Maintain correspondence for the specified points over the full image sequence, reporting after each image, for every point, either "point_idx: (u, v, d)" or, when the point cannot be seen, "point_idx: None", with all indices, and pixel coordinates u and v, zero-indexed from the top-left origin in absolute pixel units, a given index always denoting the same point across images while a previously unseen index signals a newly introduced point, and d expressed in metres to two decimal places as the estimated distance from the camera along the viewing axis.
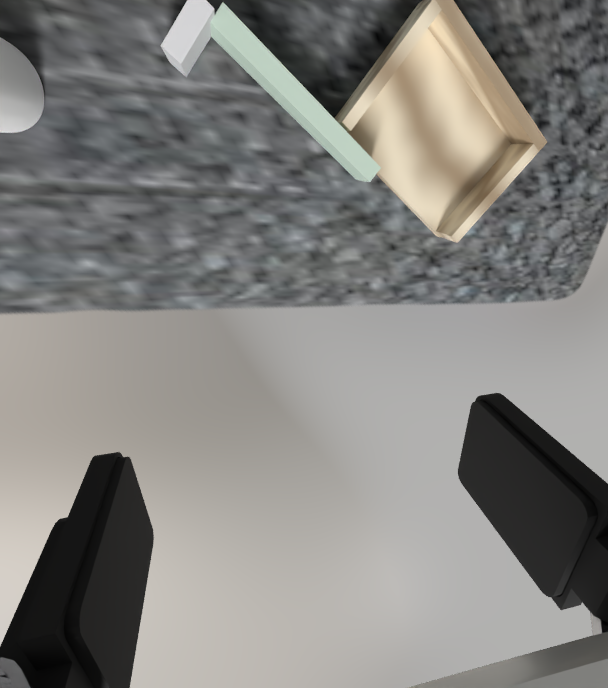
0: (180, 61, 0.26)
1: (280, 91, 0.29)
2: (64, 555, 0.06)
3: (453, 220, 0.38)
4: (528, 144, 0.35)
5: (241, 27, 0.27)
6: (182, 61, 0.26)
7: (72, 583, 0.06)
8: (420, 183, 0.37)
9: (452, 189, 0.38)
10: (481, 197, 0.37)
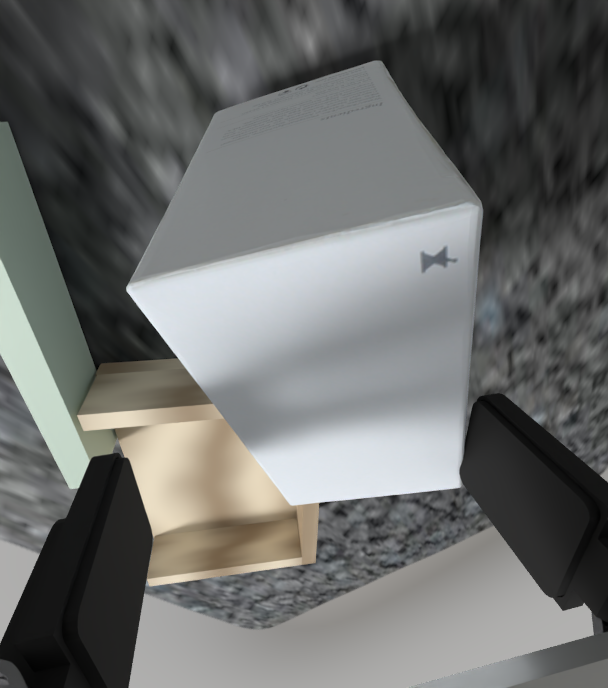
0: None
1: None
2: (63, 556, 0.06)
3: (174, 550, 0.27)
4: (299, 550, 0.27)
5: None
6: None
7: (70, 584, 0.06)
8: (170, 491, 0.26)
9: (204, 516, 0.28)
10: (215, 560, 0.27)
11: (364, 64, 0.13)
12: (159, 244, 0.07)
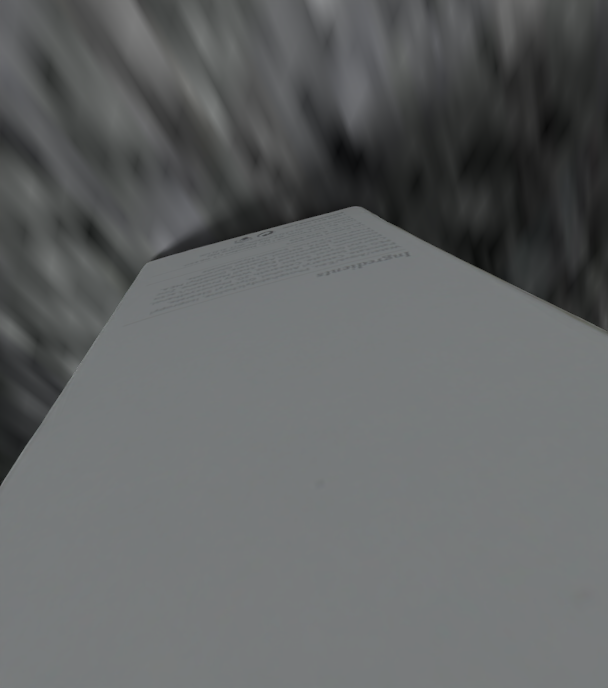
0: None
1: None
2: None
3: None
4: None
5: None
6: None
7: None
8: None
9: None
10: None
11: (341, 210, 0.10)
12: None
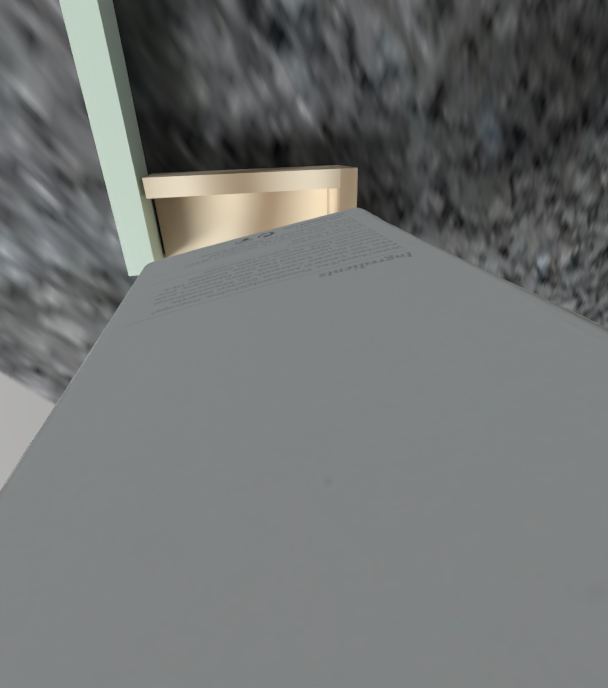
0: None
1: (74, 54, 0.17)
2: None
3: None
4: None
5: None
6: None
7: None
8: None
9: None
10: None
11: (342, 211, 0.10)
12: None
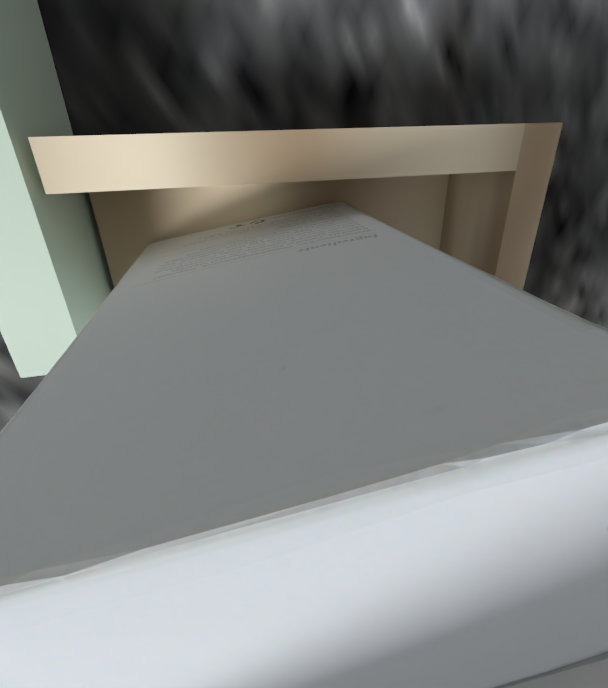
0: None
1: None
2: None
3: None
4: None
5: None
6: None
7: None
8: None
9: None
10: None
11: (327, 204, 0.11)
12: None
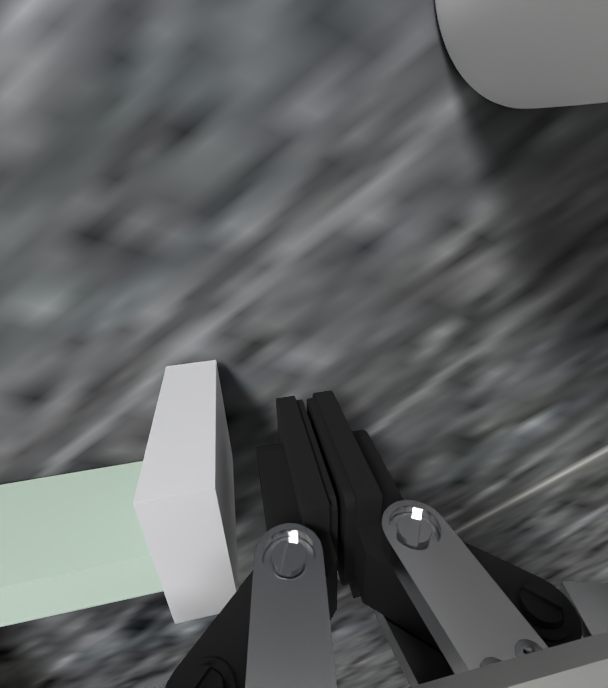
0: (139, 507, 0.07)
1: None
2: (301, 460, 0.08)
3: None
4: None
5: (118, 594, 0.10)
6: None
7: (320, 477, 0.08)
8: None
9: None
10: None
11: None
12: None
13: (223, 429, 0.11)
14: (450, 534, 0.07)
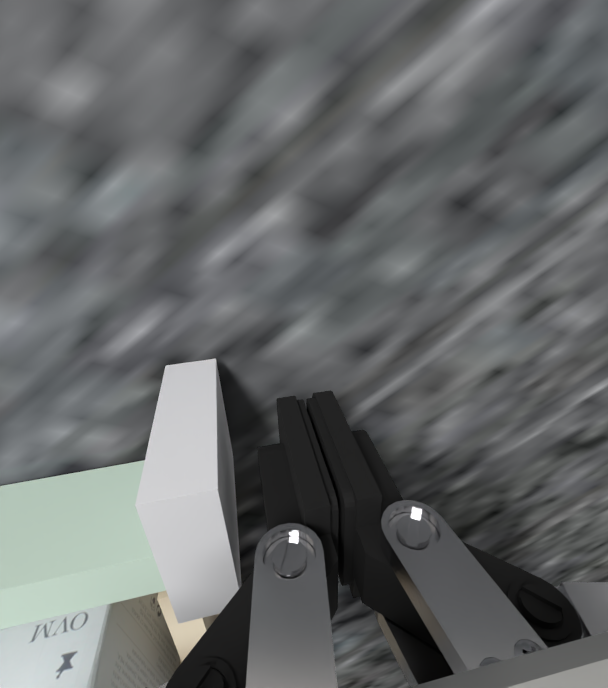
0: (141, 509, 0.07)
1: None
2: (302, 460, 0.08)
3: None
4: None
5: (121, 594, 0.10)
6: (139, 507, 0.07)
7: (320, 477, 0.08)
8: None
9: None
10: None
11: None
12: None
13: (224, 428, 0.11)
14: (449, 534, 0.07)
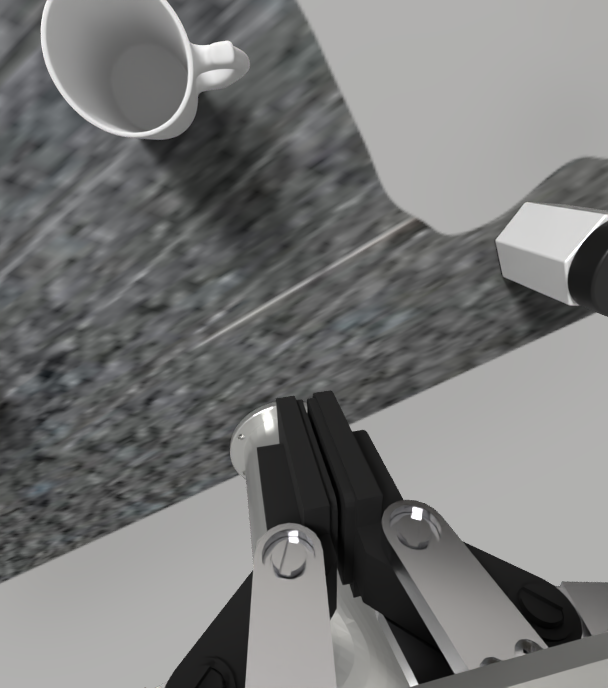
0: None
1: None
2: (301, 460, 0.08)
3: None
4: None
5: None
6: None
7: (320, 477, 0.08)
8: None
9: None
10: None
11: None
12: None
13: None
14: (450, 534, 0.07)
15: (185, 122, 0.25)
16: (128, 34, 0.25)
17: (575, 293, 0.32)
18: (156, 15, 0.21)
